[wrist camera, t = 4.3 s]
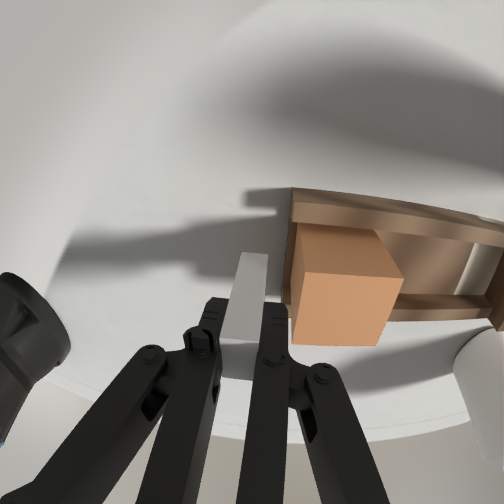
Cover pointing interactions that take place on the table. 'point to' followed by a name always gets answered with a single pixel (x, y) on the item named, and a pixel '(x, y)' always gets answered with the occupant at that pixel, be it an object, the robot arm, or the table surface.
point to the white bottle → (484, 391)
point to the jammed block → (341, 286)
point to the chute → (417, 253)
